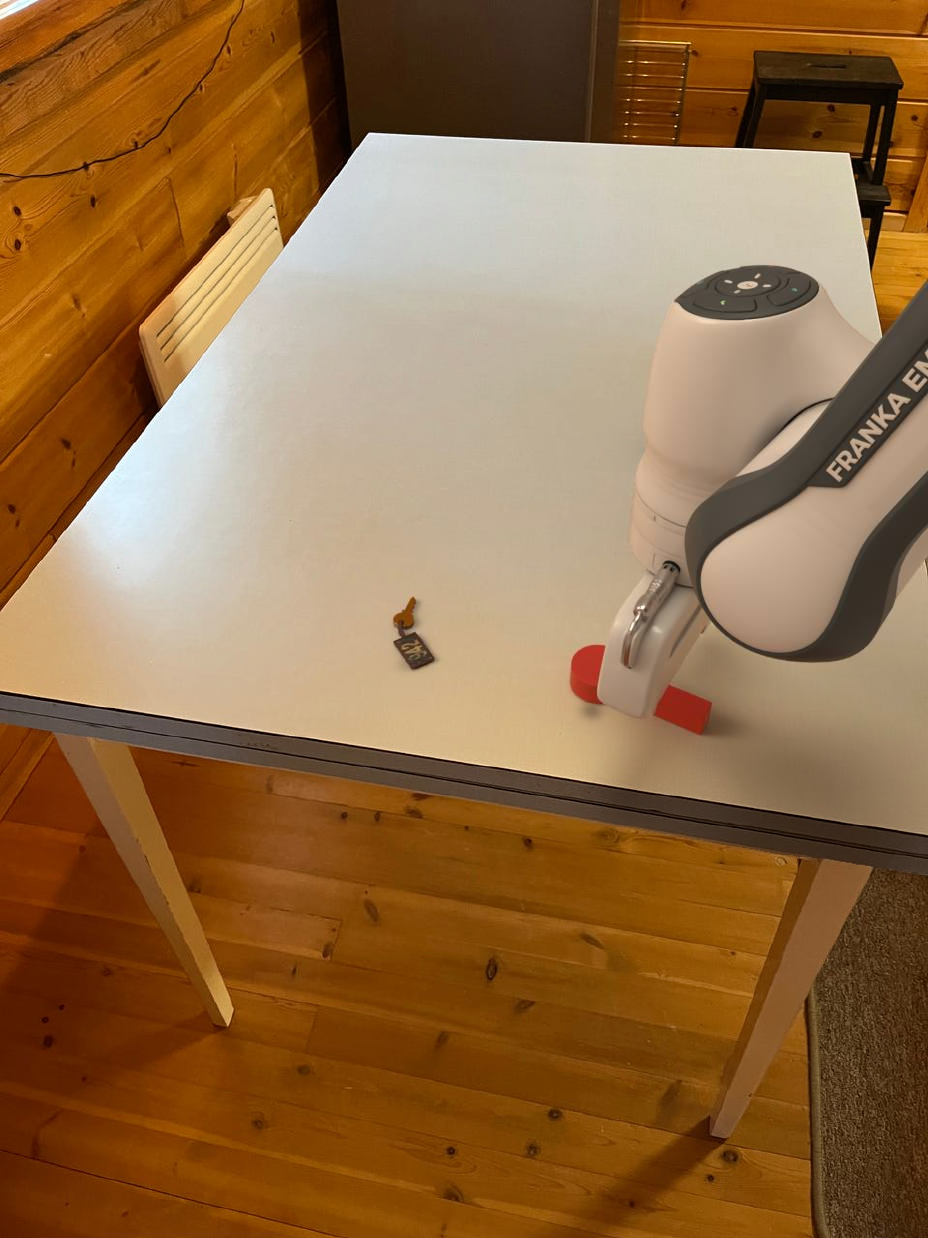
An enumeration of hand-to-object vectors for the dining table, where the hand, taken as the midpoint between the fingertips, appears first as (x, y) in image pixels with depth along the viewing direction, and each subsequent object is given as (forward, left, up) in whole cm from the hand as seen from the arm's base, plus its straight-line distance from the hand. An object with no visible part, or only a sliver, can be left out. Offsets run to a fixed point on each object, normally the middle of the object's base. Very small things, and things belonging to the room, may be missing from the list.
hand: (671, 665), depth 69 cm
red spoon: (+2, 0, -6) cm, 6 cm away
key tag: (+22, +3, -6) cm, 22 cm away
